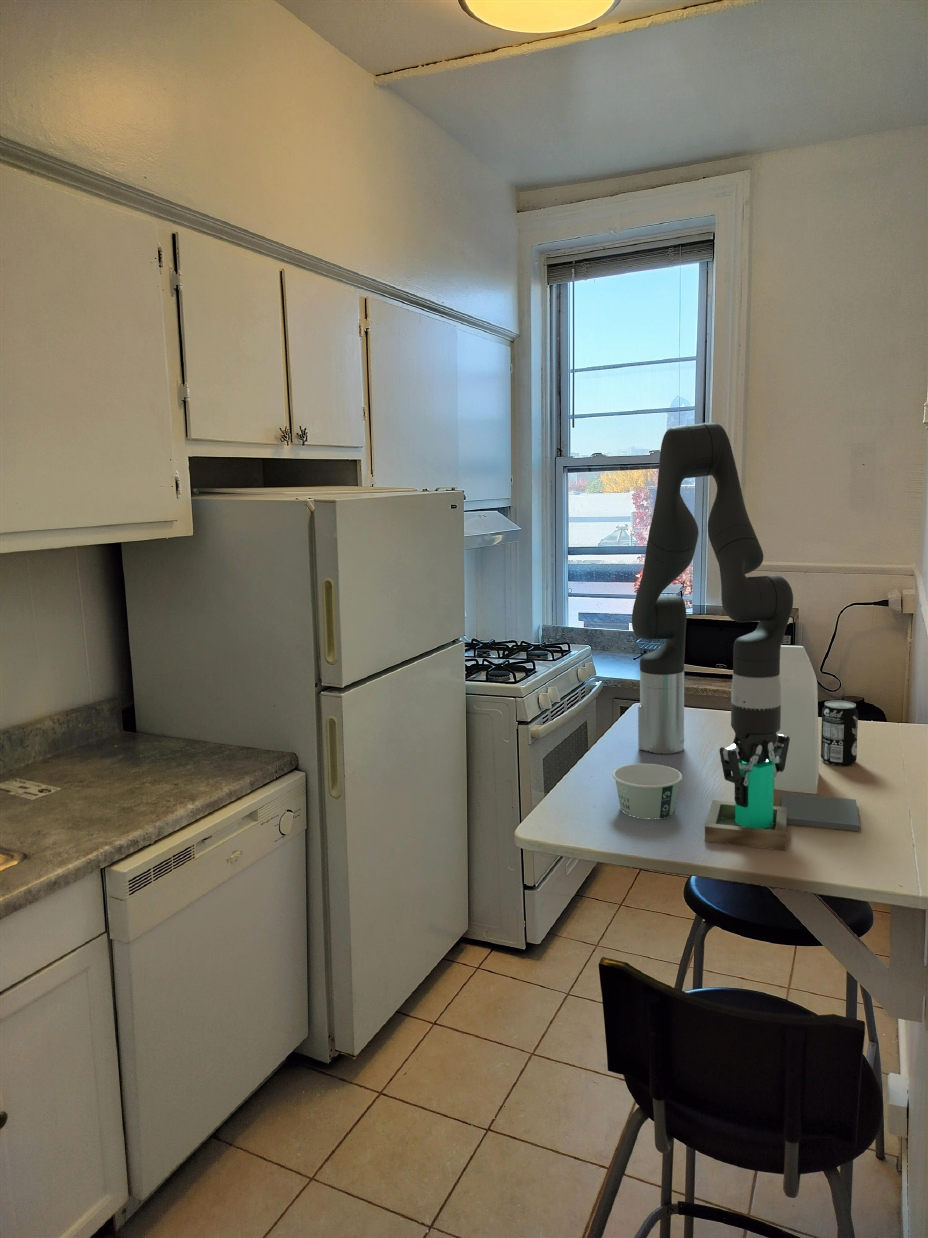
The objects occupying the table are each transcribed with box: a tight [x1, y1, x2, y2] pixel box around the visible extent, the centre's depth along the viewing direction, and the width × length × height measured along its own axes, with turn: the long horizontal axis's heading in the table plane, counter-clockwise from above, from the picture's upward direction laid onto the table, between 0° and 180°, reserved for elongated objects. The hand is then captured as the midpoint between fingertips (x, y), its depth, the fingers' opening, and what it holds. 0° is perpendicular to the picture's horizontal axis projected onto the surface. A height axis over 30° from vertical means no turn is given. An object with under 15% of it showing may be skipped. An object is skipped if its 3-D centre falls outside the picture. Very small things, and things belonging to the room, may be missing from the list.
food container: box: [611, 763, 683, 820], centre depth 148 cm, size 12×12×6 cm
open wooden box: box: [704, 799, 788, 852], centre depth 138 cm, size 12×12×2 cm
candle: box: [734, 759, 775, 829], centre depth 137 cm, size 6×6×12 cm
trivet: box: [780, 792, 861, 832], centre depth 144 cm, size 12×12×1 cm
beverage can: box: [820, 699, 859, 767], centre depth 169 cm, size 7×7×12 cm
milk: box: [774, 644, 820, 795], centre depth 159 cm, size 12×12×26 cm
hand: (754, 801), depth 137 cm, fingers closed on candle, 5 cm apart
